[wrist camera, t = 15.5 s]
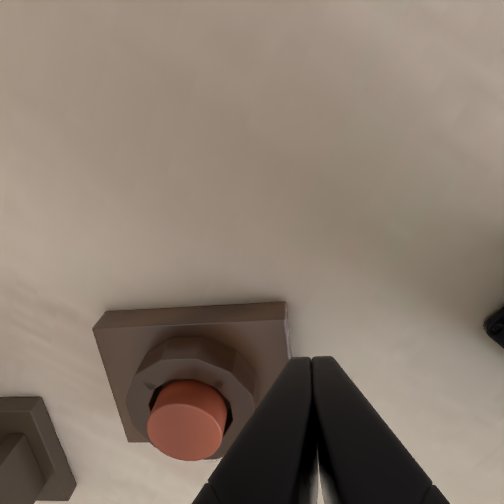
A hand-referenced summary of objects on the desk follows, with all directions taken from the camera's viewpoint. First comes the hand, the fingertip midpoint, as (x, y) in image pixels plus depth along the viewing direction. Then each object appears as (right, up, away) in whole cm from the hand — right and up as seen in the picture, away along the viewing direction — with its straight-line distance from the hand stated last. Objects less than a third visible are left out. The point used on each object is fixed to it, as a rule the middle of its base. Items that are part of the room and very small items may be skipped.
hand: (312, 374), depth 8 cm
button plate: (-4, -4, +15) cm, 16 cm away
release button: (-4, -5, +13) cm, 14 cm away
